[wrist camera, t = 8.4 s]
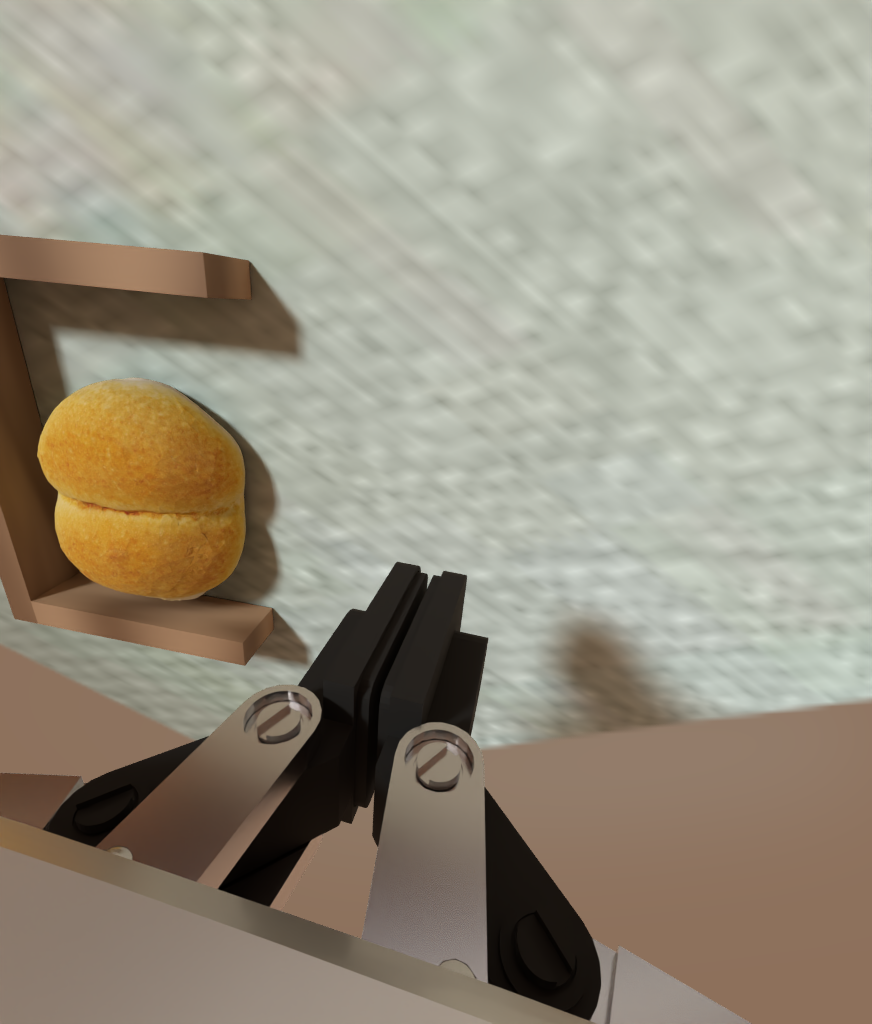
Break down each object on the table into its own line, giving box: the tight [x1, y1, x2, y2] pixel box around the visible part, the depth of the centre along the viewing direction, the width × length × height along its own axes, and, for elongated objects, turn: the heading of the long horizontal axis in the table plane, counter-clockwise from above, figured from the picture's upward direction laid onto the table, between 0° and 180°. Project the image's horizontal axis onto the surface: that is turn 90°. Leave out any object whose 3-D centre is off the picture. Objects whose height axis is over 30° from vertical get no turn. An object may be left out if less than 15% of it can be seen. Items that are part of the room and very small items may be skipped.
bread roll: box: [37, 378, 246, 601], centre depth 18 cm, size 8×9×4 cm
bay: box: [0, 235, 274, 665], centre depth 19 cm, size 11×15×2 cm
